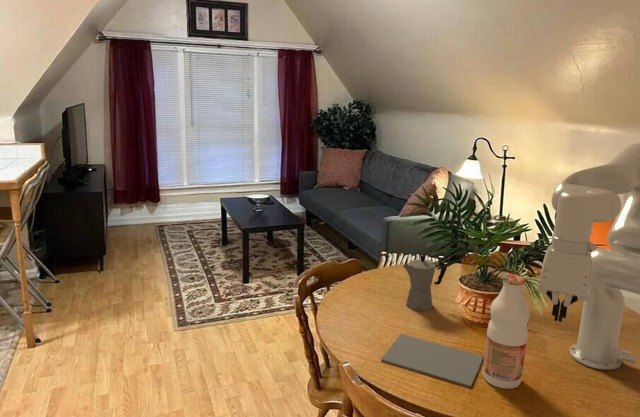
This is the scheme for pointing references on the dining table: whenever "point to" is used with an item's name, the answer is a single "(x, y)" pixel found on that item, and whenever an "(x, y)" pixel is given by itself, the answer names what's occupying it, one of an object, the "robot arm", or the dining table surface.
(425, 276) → the coffeepot
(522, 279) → the fruit juice
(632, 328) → the dining table surface
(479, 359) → the mat
